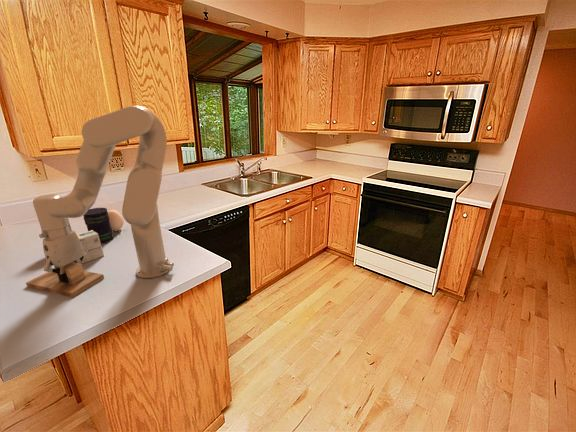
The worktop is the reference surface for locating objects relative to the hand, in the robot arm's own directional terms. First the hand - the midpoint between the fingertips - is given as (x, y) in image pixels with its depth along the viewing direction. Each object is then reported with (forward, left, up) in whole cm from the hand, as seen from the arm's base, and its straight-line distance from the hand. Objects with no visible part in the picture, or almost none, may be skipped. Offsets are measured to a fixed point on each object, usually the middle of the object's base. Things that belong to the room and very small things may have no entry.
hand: (72, 277), depth 103 cm
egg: (+26, -43, -3) cm, 50 cm away
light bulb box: (+13, -16, -3) cm, 21 cm away
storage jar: (+23, -32, -3) cm, 39 cm away
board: (+4, 0, -3) cm, 4 cm away
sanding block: (0, 0, -1) cm, 1 cm away
